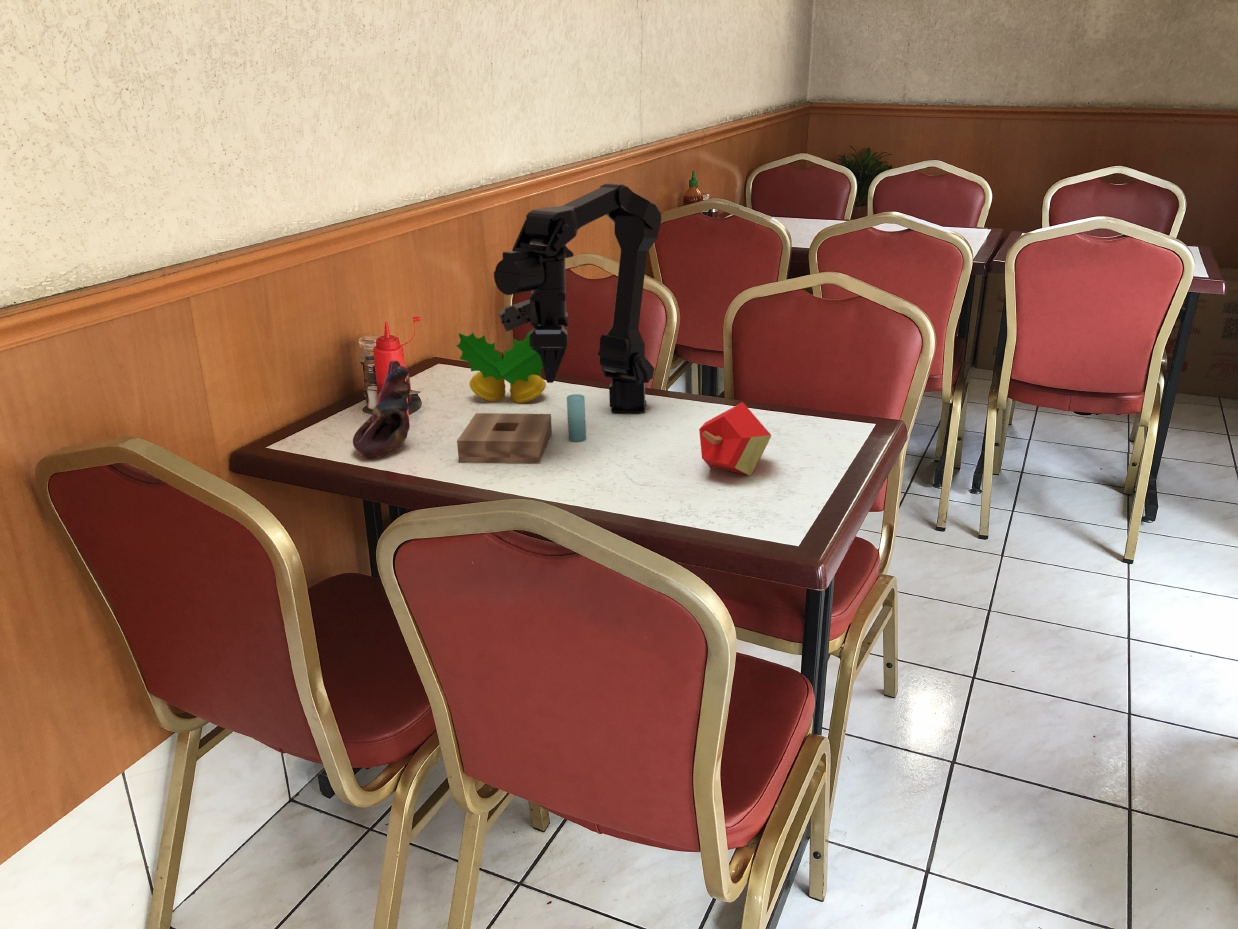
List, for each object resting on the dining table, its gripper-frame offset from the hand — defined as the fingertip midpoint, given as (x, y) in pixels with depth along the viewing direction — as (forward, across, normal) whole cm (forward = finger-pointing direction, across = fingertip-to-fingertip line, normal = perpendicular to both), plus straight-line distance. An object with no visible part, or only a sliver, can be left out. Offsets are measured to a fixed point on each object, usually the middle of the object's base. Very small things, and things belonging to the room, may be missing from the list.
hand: (550, 375), depth 170 cm
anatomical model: (+14, -1, -30) cm, 33 cm away
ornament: (+12, -26, -8) cm, 30 cm away
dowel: (+12, -2, +5) cm, 13 cm away
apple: (+12, +15, +30) cm, 36 cm away
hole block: (+13, +1, -8) cm, 15 cm away
